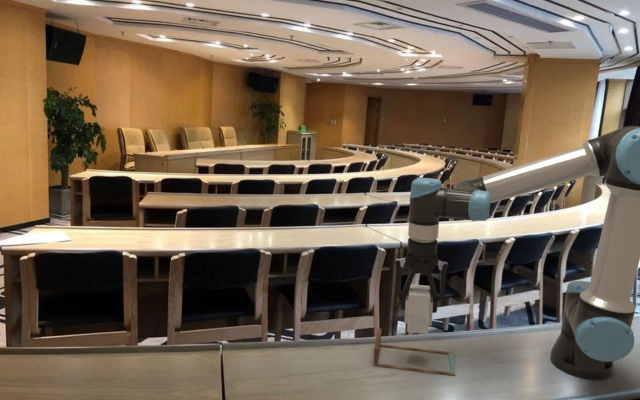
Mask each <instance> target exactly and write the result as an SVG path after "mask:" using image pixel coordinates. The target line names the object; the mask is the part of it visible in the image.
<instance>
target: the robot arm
mask: <svg viewBox="0 0 640 400" xmlns="http://www.w3.org/2000/svg"><path fill="white" fill-rule="evenodd" d="M589 176H594V177H596V178H600V177H604V176H605V177H606V178H605V182H604V184H605V186H606V187H607V188H608V190H609V193H610V195H609V199H608V203H607V207H606V212H605V216H604V221H603V225H602V229H601V232H600V233H601V234H600V239H599V241H598V246H597V251H596V255H595V260H594V264H593V269H592V273H591V276H590V281H585V280H575V281H570V282H569V283H567V287H566V290H565V292H564V293H565V298H564V306H563V313H562V314H563V315H562V320H561V321H562V322H561V327H560V328H561V329H560V334H559V335H558V337H557V338H556V341H555V342H554V344H553V346H552V347H551V351H550V356H549V357H550V358H549V359H550V361H551V363H552V364H553V365H554V366H555V367H556V368H558V369H559V370H561V371H563V372H565V373H566V374H569V375H572V376H574V377H578V378H582V379H588V380H606V379H608V378H611V376H612V375H613V372H614V367H615V366H614V365H615V364H614V362H617V361H618V360H621V359H624V358H625V357H627V356H628V355H629V354H630V353H631V352H632V350H633V349H634V345H635V336H634V331H633V330H632V325H633V321H634V318H635V312H636V306H635V304H634V302H632V300H631V296H632V293H633V288H634V285H635V280H636V276H637V273H638V268H639V264H640V126H639V125H628V126H624V127H620V128H618V129H615V130H613V131H610V132H608V133H607V132H606V133H605V134H602V135H600V136H597V137H595V138H591V139H588V140H585V141H584V143H583V144H582V145H581V146H579V147H575V148H572V149H568V150H565V151H563V152H559V153H556V154H552V155H549V156H546V157H542V158H540V159H535V160H533V161H530V162H527V163H522V164H520V165H516V166H514V167H513V166H512V167H511V168H510V167H509V168H506V169H502V170H499V171H496V172H493V173H491V174H490V173H489V174H487V175H484V176H481V177H476V178H474V179H464V180H462V181H460V182H458V184H456V185H455V187H454V188H446V187H443V185H442V181H441V180H440V179H436V178H430V177H418V178H415V179H414V180H412V182H411V185H410V186H411V187H410V188H411V189H410V196H409V214H408V215H409V216H408V217H409V219H408V232H407V233H408V234H407V236H408V239H407V253H406V255H405V257H403V258H399V257H397V258H396V259H395V262H394V263H395V268H396V277H395V285H394V287H395V288H394V296H395V297H399V298H400V309H401V311H404V322H403V323H404V324H407V320H408V299H409V288H410V286H411V284H412V283H413V280H414V278H415V276H416V274H422V275H426V278H427V282H428V286H430V295H431V297H432V298H431V297H430V313H429V327H430V326H431V327H432V325H433V323H432V322H433V314H436V313H437V312H438V302H440V301H445V299H446V273H447V270H448V269H449V264H448V262H447V261H442V260H439V258H438V256H437V255H438V238H439V226H440V225H439V224H440V218H442V219H454V220H463V221H464V220H465V221H471V222H478V221H479V222H482V221H483V222H486V221H487V220H488V219H489V218H490V209H491V208H490V207H491V204H493V203H496V202H500V201H503V200H507V199H511V198H515V197H518V196H521V195H525V194H528V193H532V192H535V191H540V190H543V189H547V188H550V187H553V186H557V185H560V184H565V183H567V182H571V181H575V180H579V179H582V178H585V177H589ZM405 263H406V264H407V266H408V267H409V268H410V270H409V273H408V275H407V279H406V281H405V284H404V286H403V289H402V290H400V288H401V281H402V272H403V271H402V270H403V268H404V266H405ZM437 265H438V270H439V271H440V273H439V275H440V276H439V293H438V294H437V289H436V285H435V282H434V277H433V272H432V271H433V270H434V269H435V267H436V266H437Z"/></svg>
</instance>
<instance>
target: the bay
mask: <svg viewBox="0 0 640 400" xmlns="http://www.w3.org/2000/svg"><path fill="white" fill-rule="evenodd" d="M381 340H382V328H377V332H376V338H375V342H374V343H375V344H374V353H373V367H379V368H385V369H394V370H402V371H410V372H420V373H425V374H426V373H427V374H433V375H434V374H435V375H442V376H443V375H444V376H449V377H451V376H452V377H456V369H455V362H454V355H453V352H452V351H443V350H435V349H425V348H418V347H411V346H410V347H407V346H400V345H391V344H382V343H381ZM381 348H389V349H396V350H405V351H414V352H415V351H416V352H422V353H431V354H439V355H446V356H447V355H448V357H449V358H448V359H449V360H448V361H449V368H450V371H441V370H435V369H434V370H433V369H424V368H417V367H411V366H410V367H408V366H400V365H393V364H385V363H379V358H380V352H381V351H380V350H381Z"/></svg>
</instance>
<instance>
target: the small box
mask: <svg viewBox="0 0 640 400" xmlns="http://www.w3.org/2000/svg"><path fill="white" fill-rule="evenodd" d="M408 296H409V299H408V319H407V323H406V325H407V326H406V332H407V333H413V334H414V333H415V334H425V335H427V334H428V335H429V329H430V325H429V313H430V298H431V290H430V286H429V285H423V284H422V285H421V284H412V283H411V286H410V288H409V291H408Z"/></svg>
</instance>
